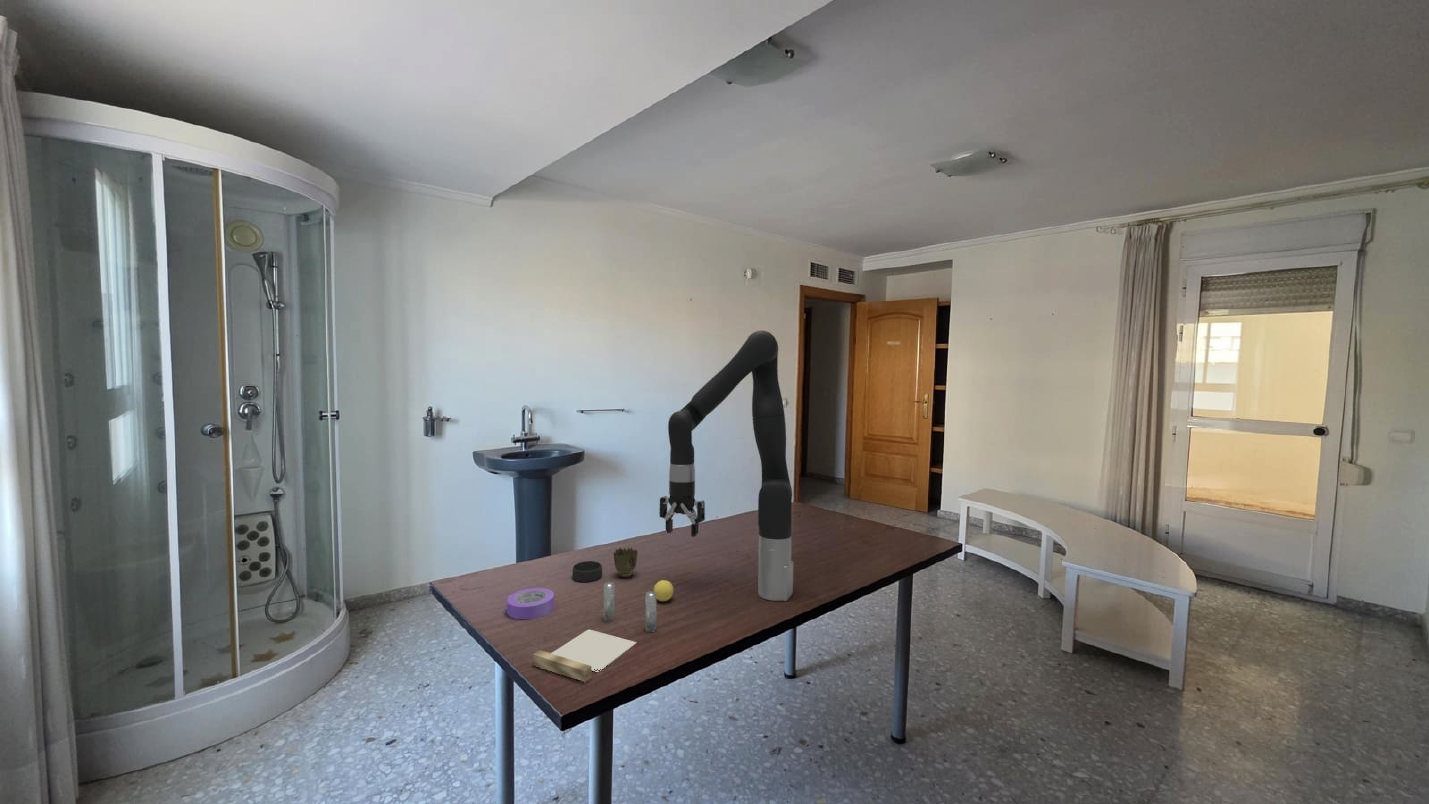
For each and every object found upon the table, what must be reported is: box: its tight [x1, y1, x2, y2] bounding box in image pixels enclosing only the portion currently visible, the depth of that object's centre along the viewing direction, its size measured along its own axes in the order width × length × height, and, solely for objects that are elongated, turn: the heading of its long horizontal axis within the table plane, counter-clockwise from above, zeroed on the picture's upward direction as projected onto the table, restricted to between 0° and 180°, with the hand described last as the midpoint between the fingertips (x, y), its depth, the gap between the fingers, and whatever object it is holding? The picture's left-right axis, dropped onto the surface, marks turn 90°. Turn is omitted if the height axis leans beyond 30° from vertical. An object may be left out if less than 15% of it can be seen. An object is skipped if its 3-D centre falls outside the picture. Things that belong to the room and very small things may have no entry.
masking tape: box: [506, 587, 555, 620], centre depth 136 cm, size 12×12×4 cm
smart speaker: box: [572, 560, 603, 583], centre depth 160 cm, size 9×9×4 cm
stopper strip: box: [532, 649, 592, 682], centre depth 107 cm, size 14×2×2 cm, turn 64°
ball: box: [653, 579, 674, 602], centre depth 143 cm, size 6×6×6 cm
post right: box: [644, 590, 657, 633], centre depth 126 cm, size 3×3×9 cm
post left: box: [603, 581, 615, 622], centre depth 131 cm, size 3×3×9 cm
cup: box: [612, 547, 638, 579], centre depth 160 cm, size 8×7×8 cm
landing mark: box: [550, 629, 637, 673], centre depth 116 cm, size 14×14×1 cm
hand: (681, 534), depth 151 cm, fingers open, 7 cm apart
